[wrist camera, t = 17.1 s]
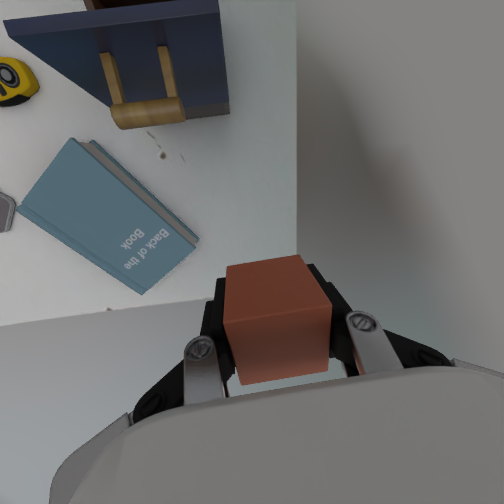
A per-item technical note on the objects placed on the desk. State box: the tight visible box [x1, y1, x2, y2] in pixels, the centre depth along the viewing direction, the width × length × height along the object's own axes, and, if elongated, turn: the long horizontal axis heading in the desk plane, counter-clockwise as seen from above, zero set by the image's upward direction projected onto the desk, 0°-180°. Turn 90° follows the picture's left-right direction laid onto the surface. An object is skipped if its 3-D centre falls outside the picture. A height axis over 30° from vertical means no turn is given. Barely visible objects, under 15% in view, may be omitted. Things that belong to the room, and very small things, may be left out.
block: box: [223, 255, 332, 385], centre depth 11 cm, size 4×4×4 cm
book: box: [16, 138, 199, 295], centre depth 35 cm, size 23×16×5 cm
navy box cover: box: [3, 0, 229, 130], centre depth 18 cm, size 11×13×5 cm
